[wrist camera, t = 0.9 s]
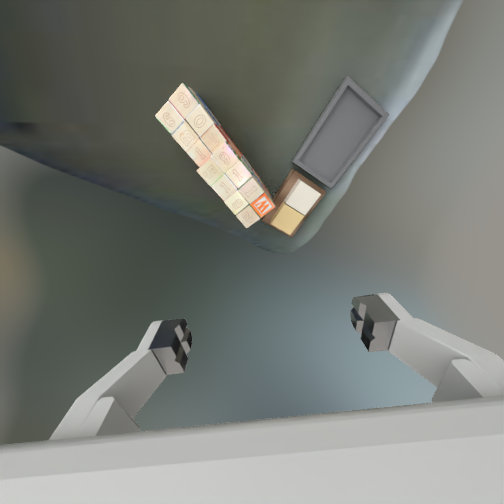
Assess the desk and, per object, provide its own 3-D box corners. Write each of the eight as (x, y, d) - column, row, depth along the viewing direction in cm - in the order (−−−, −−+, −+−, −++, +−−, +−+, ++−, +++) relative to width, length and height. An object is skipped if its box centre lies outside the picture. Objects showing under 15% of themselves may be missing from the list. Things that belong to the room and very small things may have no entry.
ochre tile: (283, 201, 41) (284, 203, 40) (302, 213, 43) (304, 216, 41) (270, 220, 43) (270, 224, 42) (288, 231, 45) (290, 235, 43)
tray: (343, 78, 34) (348, 76, 32) (383, 115, 37) (389, 114, 35) (291, 161, 40) (293, 162, 39) (328, 187, 43) (331, 188, 41)
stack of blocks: (174, 120, 37) (144, 112, 26) (198, 93, 35) (175, 73, 24) (247, 208, 45) (246, 229, 35) (269, 190, 43) (276, 207, 33)
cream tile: (298, 178, 39) (300, 180, 37) (318, 191, 40) (321, 194, 39) (283, 200, 41) (285, 203, 40) (302, 212, 43) (305, 215, 41)
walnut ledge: (292, 168, 41) (295, 170, 38) (321, 188, 43) (326, 191, 41) (261, 216, 46) (262, 220, 43) (289, 232, 48) (291, 237, 46)
